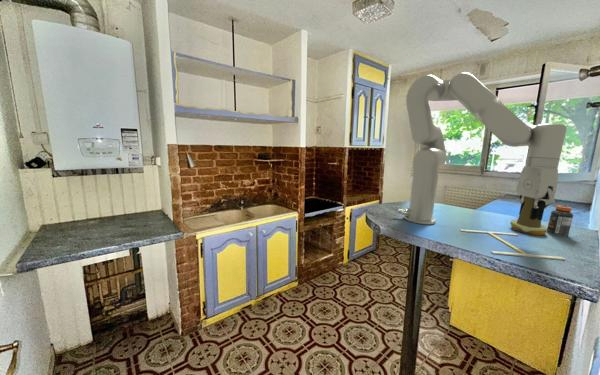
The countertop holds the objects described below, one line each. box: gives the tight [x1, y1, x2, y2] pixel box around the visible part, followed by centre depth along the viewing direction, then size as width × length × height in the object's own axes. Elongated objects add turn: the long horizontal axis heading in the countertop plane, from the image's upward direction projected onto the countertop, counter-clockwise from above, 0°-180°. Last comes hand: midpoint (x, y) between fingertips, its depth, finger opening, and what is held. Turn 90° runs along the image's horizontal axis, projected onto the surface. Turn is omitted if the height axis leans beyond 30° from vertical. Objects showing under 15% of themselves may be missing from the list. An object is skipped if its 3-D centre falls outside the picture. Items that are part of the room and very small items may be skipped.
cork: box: [516, 196, 544, 228], centre depth 81 cm, size 6×6×11 cm
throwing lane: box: [459, 228, 566, 261], centre depth 84 cm, size 20×20×1 cm
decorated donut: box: [510, 219, 548, 237], centre depth 97 cm, size 10×11×4 cm
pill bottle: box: [546, 204, 574, 237], centre depth 94 cm, size 6×6×11 cm
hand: (530, 217), depth 81 cm, fingers closed on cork, 3 cm apart
